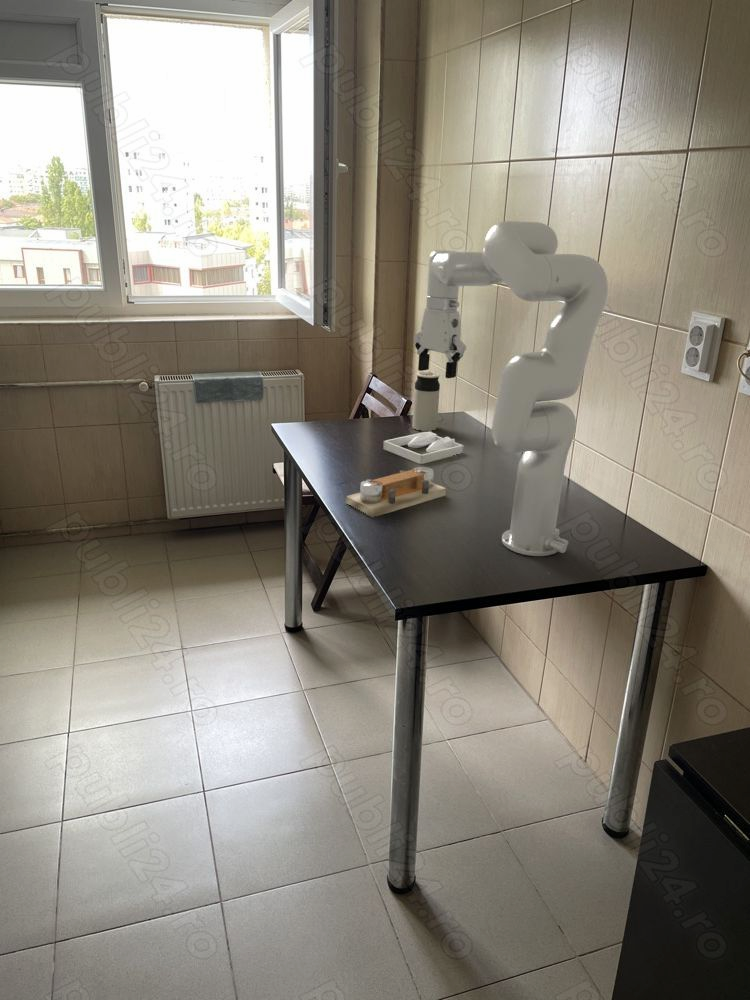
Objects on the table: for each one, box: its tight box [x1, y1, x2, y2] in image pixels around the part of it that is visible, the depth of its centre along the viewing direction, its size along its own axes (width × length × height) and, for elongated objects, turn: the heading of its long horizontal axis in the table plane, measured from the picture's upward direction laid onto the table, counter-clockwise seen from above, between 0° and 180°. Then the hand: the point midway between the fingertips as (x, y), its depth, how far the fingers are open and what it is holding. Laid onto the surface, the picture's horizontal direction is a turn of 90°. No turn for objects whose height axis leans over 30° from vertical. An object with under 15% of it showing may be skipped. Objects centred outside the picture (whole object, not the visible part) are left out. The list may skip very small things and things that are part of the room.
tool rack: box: [345, 470, 447, 518], centre depth 179 cm, size 10×24×5 cm, turn 130°
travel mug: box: [411, 370, 441, 432], centre depth 235 cm, size 8×8×18 cm
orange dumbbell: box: [359, 466, 435, 504], centre depth 179 cm, size 5×22×4 cm, turn 131°
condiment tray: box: [382, 431, 465, 465], centre depth 216 cm, size 16×17×2 cm
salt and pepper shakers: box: [407, 431, 456, 453], centre depth 218 cm, size 12×4×11 cm
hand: (436, 373), depth 184 cm, fingers open, 9 cm apart
